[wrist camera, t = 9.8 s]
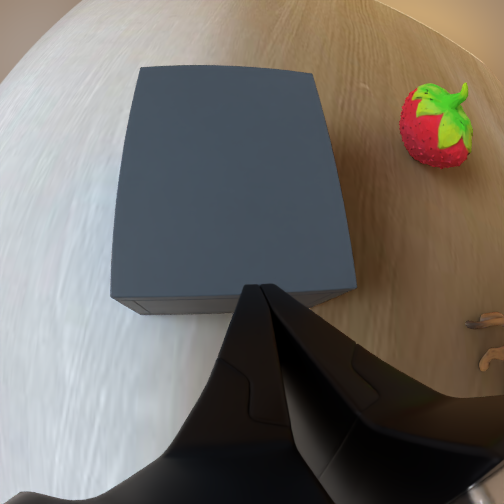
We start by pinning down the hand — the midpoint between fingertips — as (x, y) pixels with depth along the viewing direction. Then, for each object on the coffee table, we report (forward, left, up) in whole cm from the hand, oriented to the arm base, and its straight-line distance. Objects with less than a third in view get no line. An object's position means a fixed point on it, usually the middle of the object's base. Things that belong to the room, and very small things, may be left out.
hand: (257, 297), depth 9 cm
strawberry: (-2, -22, -11) cm, 24 cm away
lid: (+5, -5, -5) cm, 9 cm away
